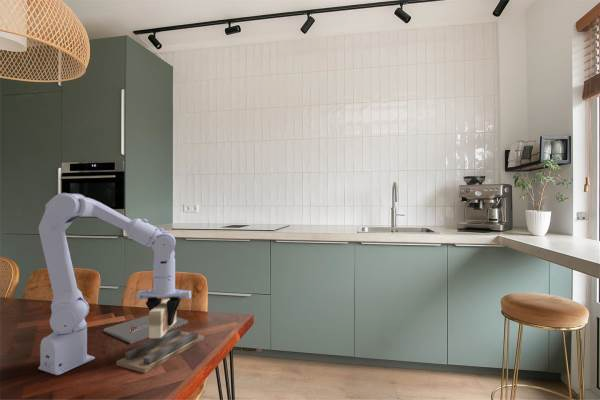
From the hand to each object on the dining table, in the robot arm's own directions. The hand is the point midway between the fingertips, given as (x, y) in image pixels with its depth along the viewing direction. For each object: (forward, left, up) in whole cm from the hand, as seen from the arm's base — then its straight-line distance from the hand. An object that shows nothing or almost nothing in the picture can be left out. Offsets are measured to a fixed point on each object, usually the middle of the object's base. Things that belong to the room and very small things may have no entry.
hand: (164, 324), depth 94 cm
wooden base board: (0, 0, -8) cm, 8 cm away
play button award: (+11, +19, -8) cm, 23 cm away
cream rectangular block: (0, 0, -1) cm, 1 cm away
